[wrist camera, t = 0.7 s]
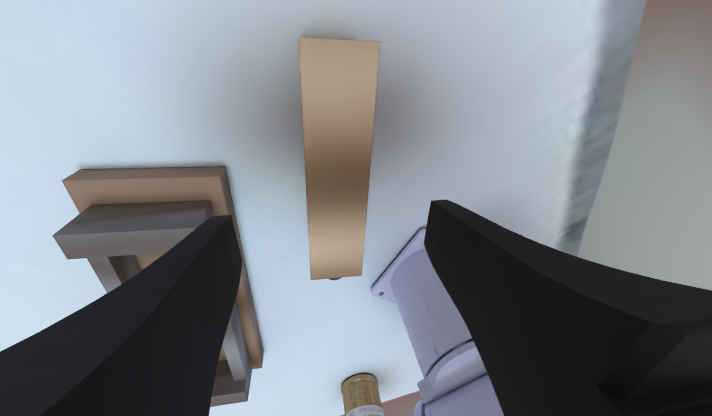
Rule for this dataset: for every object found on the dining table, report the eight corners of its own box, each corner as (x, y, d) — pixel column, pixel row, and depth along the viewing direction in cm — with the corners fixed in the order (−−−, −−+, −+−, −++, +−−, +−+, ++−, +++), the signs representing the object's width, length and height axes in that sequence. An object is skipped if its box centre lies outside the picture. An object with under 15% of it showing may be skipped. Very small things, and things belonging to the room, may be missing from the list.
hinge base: (80, 169, 16) (14, 209, 13) (225, 166, 18) (204, 201, 14) (176, 364, 27) (155, 418, 23) (263, 352, 28) (257, 402, 24)
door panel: (298, 37, 15) (298, 36, 10) (354, 40, 16) (379, 41, 11) (308, 233, 22) (311, 293, 17) (346, 231, 22) (360, 288, 17)
